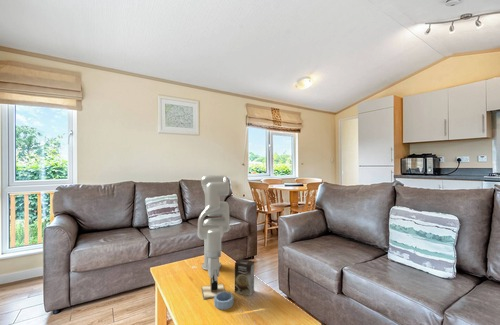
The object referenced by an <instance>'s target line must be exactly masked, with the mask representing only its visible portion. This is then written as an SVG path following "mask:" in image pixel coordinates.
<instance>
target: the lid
mask: <svg viewBox="0 0 500 325" xmlns="http://www.w3.org/2000/svg"><path fill="white" fill-rule="evenodd" d="M210 279H211V282H212V278H210ZM213 279H214V278H213ZM223 285H224V283H218V289H217V290H211V286H210V284H209V285H203V286H202V287H201V290H202V289H203V294H204V299H207V300H210V299H209V298H213V299H214V296H215V295H216V294H217V293H219V292H224V291H226V288H225V285H224V286H223ZM224 288H225V289H224ZM203 294H202V295H203ZM204 299H203V300H204Z"/></svg>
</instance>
